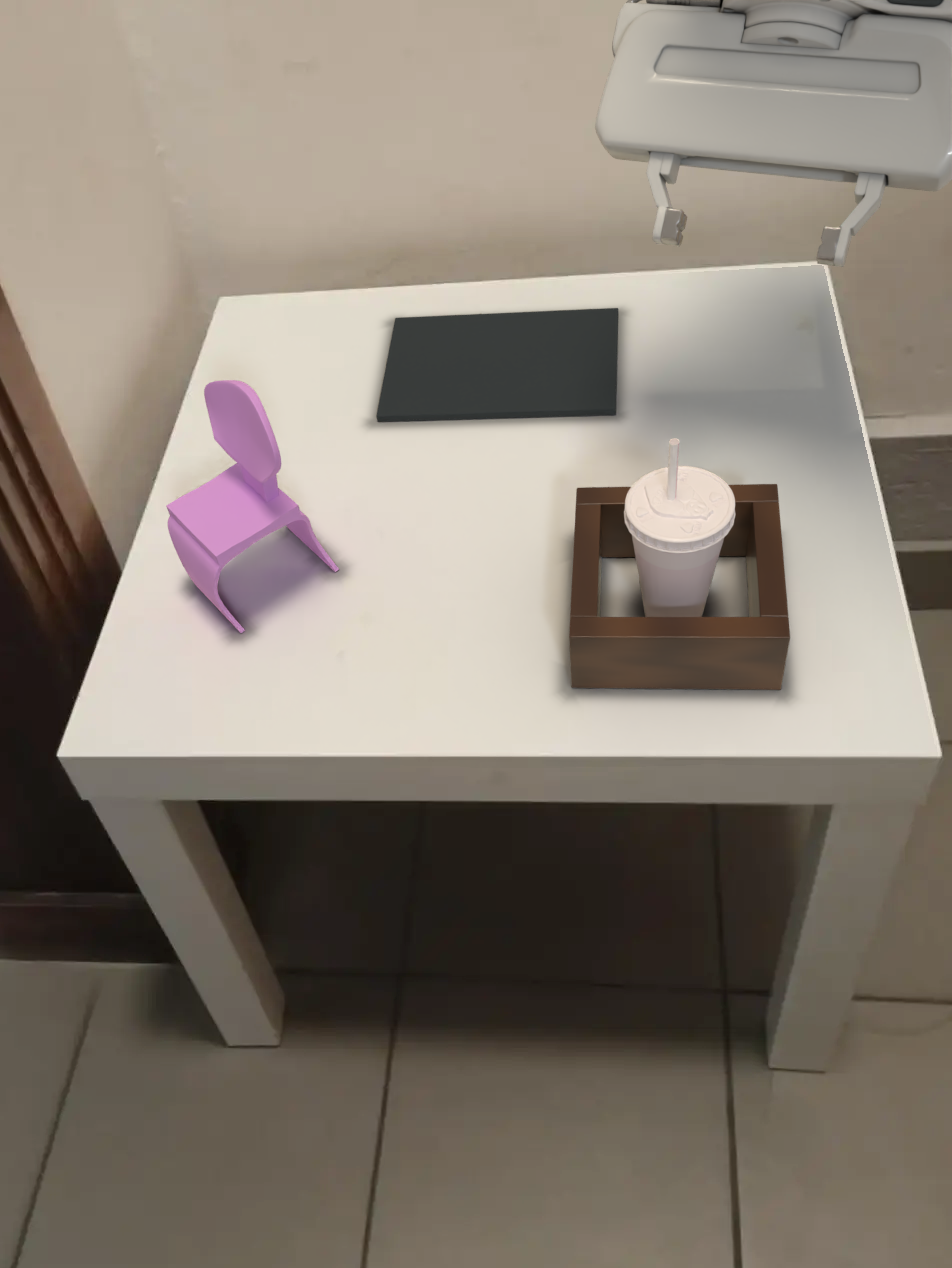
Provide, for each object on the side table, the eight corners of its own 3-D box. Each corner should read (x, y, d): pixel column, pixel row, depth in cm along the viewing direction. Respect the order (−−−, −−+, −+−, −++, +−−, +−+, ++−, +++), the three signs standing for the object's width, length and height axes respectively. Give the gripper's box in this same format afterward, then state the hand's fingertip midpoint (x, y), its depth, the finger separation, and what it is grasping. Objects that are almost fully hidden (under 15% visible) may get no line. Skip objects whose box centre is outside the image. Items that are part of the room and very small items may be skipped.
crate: (769, 538, 81) (777, 483, 77) (780, 690, 74) (790, 637, 70) (578, 540, 83) (576, 487, 79) (571, 688, 76) (569, 637, 72)
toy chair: (180, 579, 86) (110, 413, 74) (282, 516, 89) (230, 345, 76) (242, 646, 82) (178, 481, 70) (348, 577, 84) (303, 406, 72)
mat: (618, 313, 97) (618, 307, 96) (615, 415, 90) (615, 408, 90) (396, 323, 100) (394, 317, 100) (377, 422, 93) (375, 416, 93)
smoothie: (658, 560, 81) (665, 392, 70) (744, 599, 78) (765, 431, 67) (603, 622, 79) (601, 459, 68) (689, 665, 76) (702, 501, 65)
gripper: (612, -42, 68) (560, 219, 71) (1007, -23, 61) (930, 264, 64) (635, 4, 74) (586, 243, 77) (998, 25, 67) (928, 286, 70)
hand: (746, 253), depth 70 cm, fingers open, 8 cm apart
